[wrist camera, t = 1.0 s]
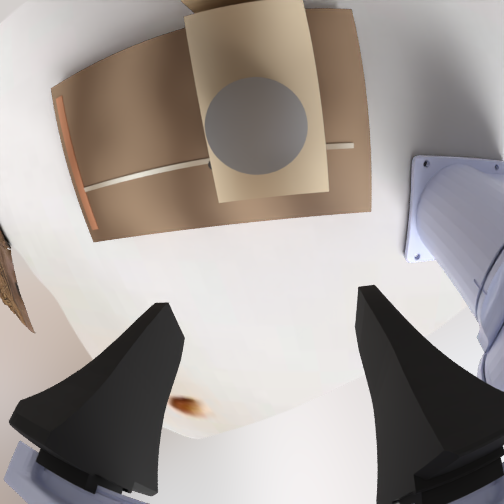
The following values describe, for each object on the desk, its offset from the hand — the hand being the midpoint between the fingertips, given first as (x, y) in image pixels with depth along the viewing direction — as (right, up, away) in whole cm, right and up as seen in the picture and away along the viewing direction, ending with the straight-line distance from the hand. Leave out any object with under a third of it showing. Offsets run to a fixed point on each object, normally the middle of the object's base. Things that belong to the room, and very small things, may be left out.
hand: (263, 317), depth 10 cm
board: (-3, +10, +5) cm, 12 cm away
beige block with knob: (0, +12, +3) cm, 12 cm away
